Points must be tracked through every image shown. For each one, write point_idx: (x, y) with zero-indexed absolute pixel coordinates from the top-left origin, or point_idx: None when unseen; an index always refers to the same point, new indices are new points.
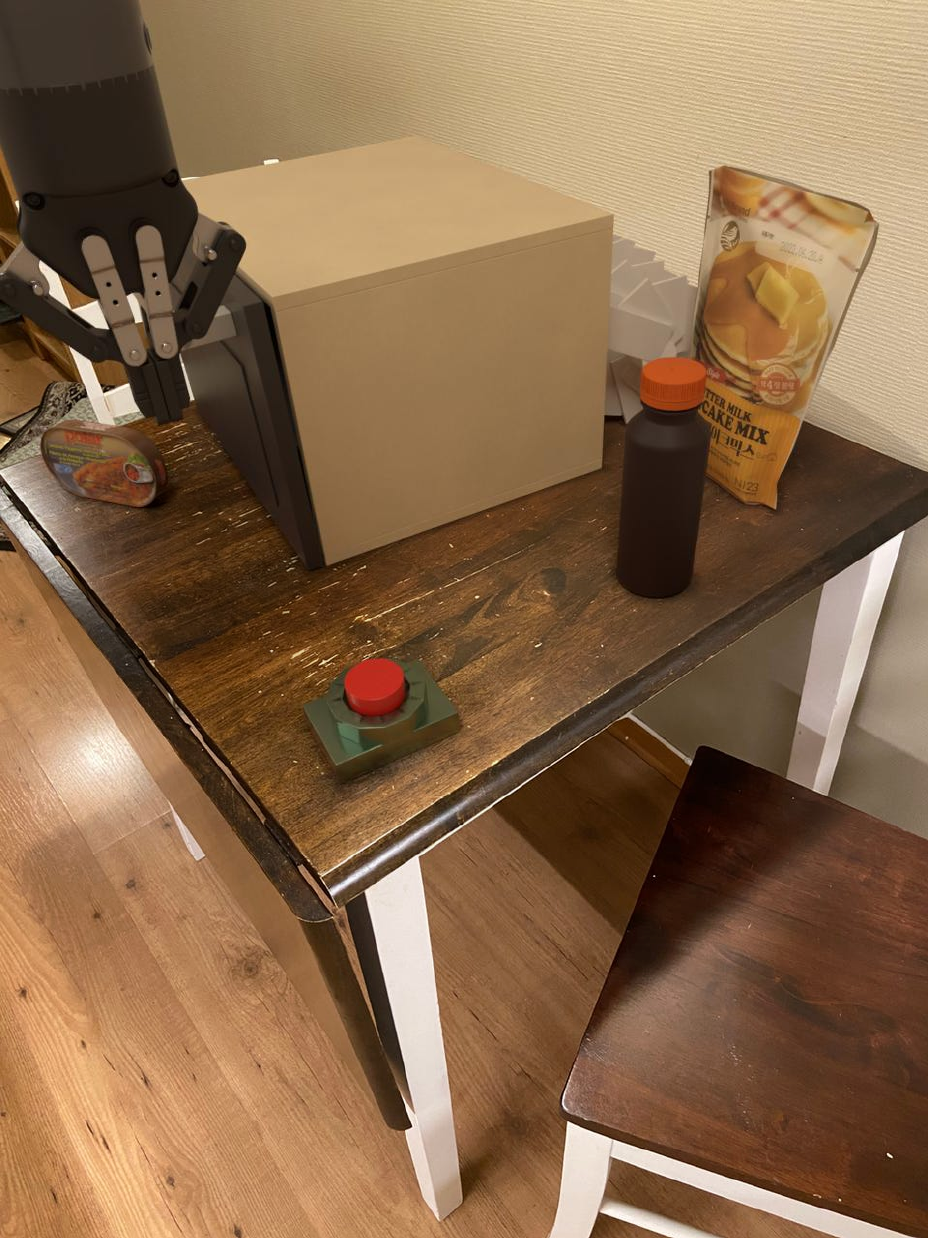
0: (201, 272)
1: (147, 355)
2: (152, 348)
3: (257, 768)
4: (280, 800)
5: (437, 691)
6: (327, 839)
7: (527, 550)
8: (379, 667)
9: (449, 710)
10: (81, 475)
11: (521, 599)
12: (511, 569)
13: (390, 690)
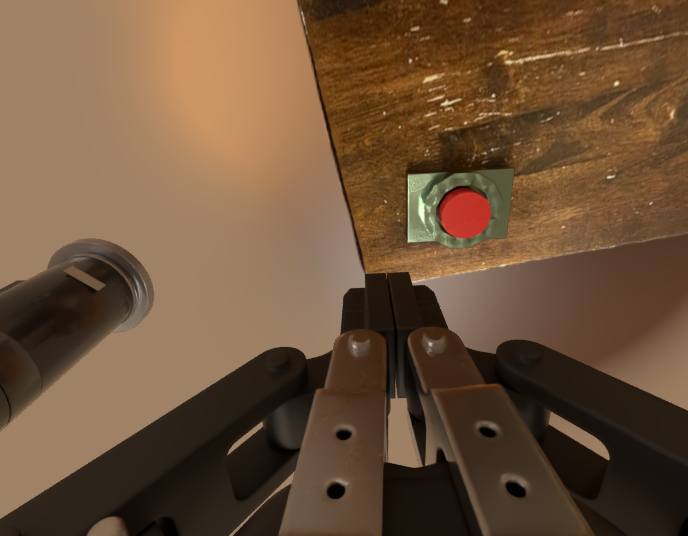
0: (648, 518)
1: (392, 360)
2: (406, 386)
3: (359, 194)
4: (365, 228)
5: (505, 212)
6: (382, 269)
7: None
8: (476, 206)
9: (501, 234)
10: None
11: (647, 110)
12: (677, 56)
13: (470, 234)
